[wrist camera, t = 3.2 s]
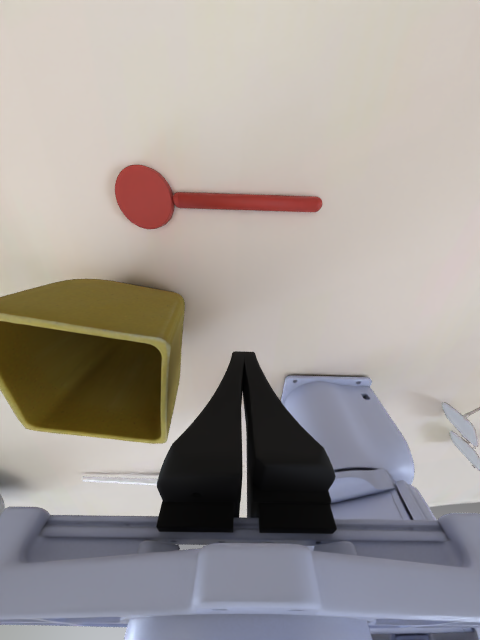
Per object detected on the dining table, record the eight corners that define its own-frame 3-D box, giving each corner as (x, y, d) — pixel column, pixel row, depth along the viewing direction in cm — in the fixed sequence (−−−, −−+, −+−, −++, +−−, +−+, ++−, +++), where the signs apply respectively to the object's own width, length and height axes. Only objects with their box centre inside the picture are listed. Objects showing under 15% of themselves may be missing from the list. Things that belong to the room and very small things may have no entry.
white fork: (81, 470, 34) (73, 483, 33) (198, 471, 34) (196, 485, 33) (88, 478, 36) (81, 491, 34) (200, 480, 36) (198, 493, 35)
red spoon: (325, 172, 13) (331, 170, 12) (313, 232, 15) (317, 234, 14) (113, 165, 13) (105, 162, 12) (128, 227, 15) (121, 228, 14)
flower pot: (89, 252, 16) (-57, 307, 8) (202, 274, 17) (168, 342, 9) (105, 341, 20) (22, 430, 12) (193, 354, 21) (166, 446, 13)
